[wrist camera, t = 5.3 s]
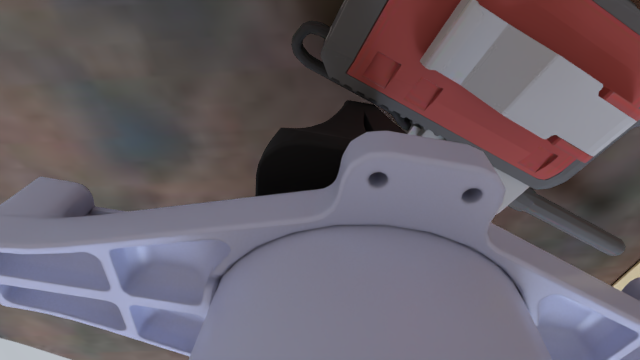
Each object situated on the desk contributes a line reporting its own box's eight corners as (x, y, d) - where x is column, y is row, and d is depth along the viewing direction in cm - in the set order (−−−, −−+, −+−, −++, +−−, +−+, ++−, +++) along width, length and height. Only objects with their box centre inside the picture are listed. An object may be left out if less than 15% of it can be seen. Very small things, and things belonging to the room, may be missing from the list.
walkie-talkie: (275, 82, 15) (585, 243, 19) (250, 123, 11) (640, 311, 15) (381, -163, 10) (766, 123, 14) (397, -228, 6) (907, 182, 10)
